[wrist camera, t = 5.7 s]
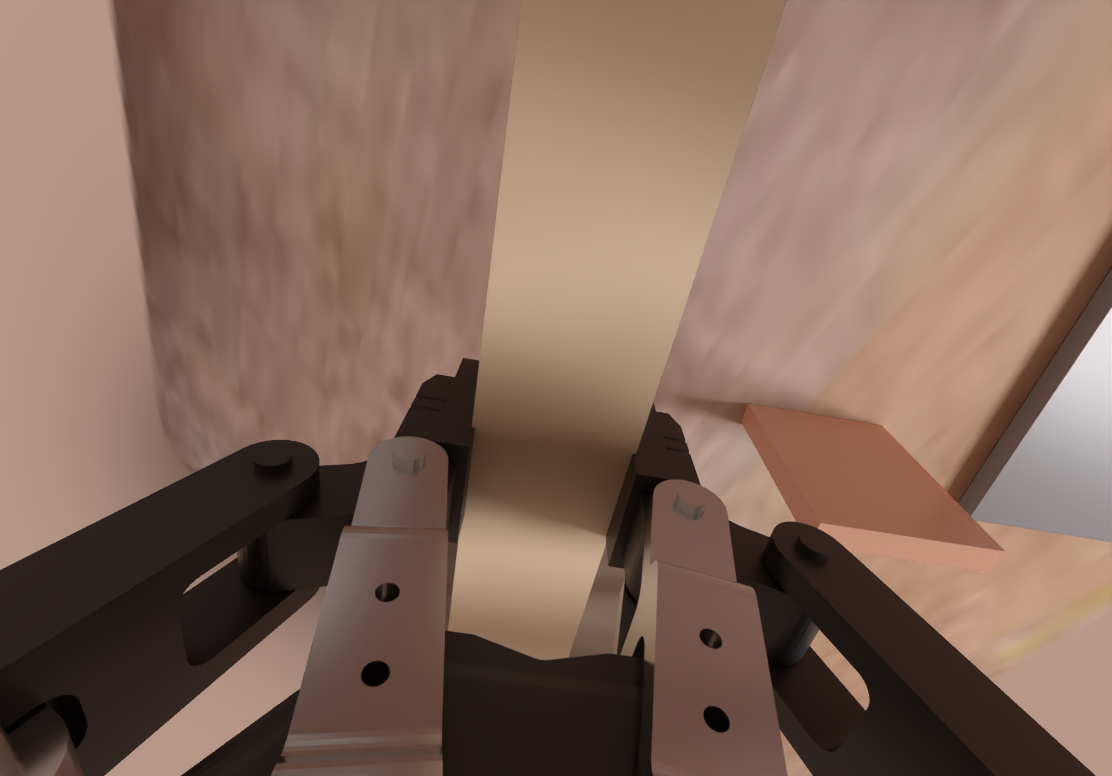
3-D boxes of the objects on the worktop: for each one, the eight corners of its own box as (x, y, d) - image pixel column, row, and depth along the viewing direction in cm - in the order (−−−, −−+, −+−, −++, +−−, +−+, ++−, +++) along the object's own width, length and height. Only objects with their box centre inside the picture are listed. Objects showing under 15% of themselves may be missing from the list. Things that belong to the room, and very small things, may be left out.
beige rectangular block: (409, -60, 10) (278, -134, 5) (841, 34, 10) (1025, 33, 6) (395, 527, 18) (337, 680, 13) (636, 563, 18) (653, 722, 14)
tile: (748, 403, 31) (820, 523, 22) (882, 425, 32) (1005, 551, 23) (739, 424, 32) (806, 549, 23) (870, 446, 32) (986, 576, 23)
